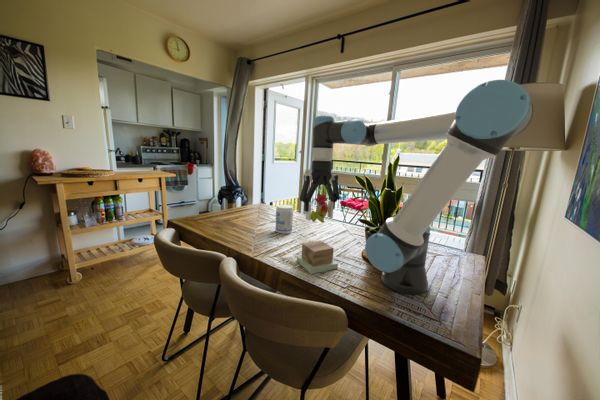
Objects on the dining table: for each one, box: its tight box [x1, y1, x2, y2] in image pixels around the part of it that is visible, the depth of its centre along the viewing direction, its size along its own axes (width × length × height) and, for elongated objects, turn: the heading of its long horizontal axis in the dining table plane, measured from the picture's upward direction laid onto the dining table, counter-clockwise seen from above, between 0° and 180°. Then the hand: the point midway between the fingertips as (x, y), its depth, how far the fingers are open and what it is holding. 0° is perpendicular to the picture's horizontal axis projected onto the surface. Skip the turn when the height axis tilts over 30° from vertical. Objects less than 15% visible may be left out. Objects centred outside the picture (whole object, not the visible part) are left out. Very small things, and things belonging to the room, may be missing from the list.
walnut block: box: [301, 240, 334, 267], centre depth 97 cm, size 9×9×6 cm
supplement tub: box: [275, 204, 294, 235], centre depth 136 cm, size 10×10×15 cm
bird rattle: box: [310, 193, 329, 224], centre depth 94 cm, size 6×11×9 cm
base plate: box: [296, 255, 339, 275], centre depth 98 cm, size 12×12×2 cm
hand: (319, 218), depth 94 cm, fingers closed on bird rattle, 9 cm apart
